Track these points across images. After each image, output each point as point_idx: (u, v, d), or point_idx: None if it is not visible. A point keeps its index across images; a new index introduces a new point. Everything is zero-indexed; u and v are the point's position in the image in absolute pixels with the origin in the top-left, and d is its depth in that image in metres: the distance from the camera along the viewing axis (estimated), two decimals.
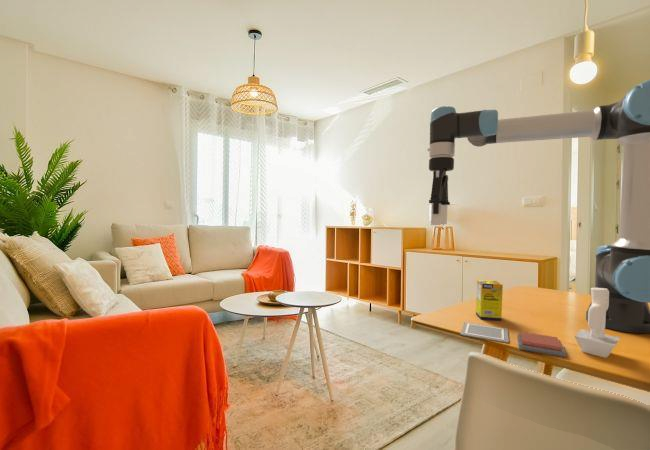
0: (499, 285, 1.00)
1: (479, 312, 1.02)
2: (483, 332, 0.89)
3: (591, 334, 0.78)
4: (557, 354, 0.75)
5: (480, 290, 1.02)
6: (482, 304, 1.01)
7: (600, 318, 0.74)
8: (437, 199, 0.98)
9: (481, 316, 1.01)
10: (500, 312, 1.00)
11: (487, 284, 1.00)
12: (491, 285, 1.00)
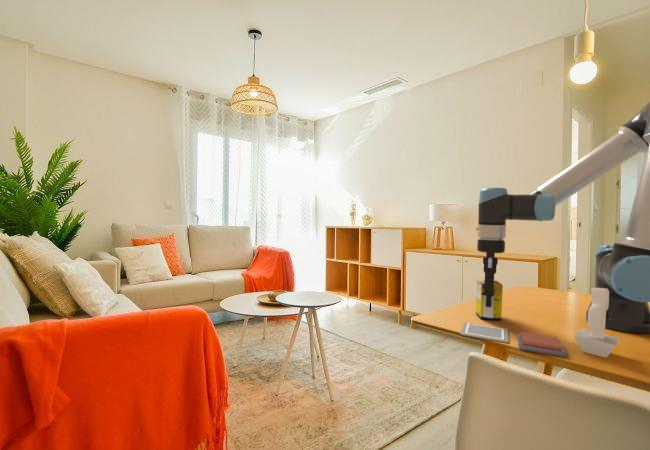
0: (499, 285, 1.00)
1: (479, 312, 1.02)
2: (483, 332, 0.89)
3: (591, 334, 0.78)
4: (557, 354, 0.75)
5: (480, 290, 1.02)
6: (482, 304, 1.01)
7: (600, 318, 0.74)
8: (491, 294, 0.96)
9: (481, 316, 1.01)
10: (500, 312, 1.00)
11: None
12: None
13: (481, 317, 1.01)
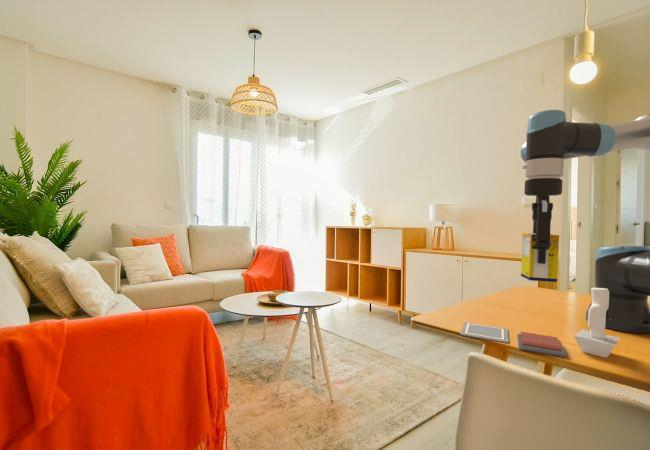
0: (554, 236, 0.77)
1: (527, 272, 0.80)
2: (483, 332, 0.89)
3: (591, 334, 0.78)
4: (557, 354, 0.75)
5: (528, 244, 0.79)
6: (532, 261, 0.78)
7: (600, 318, 0.74)
8: (547, 246, 0.74)
9: (530, 277, 0.79)
10: (556, 271, 0.77)
11: None
12: None
13: (530, 278, 0.79)
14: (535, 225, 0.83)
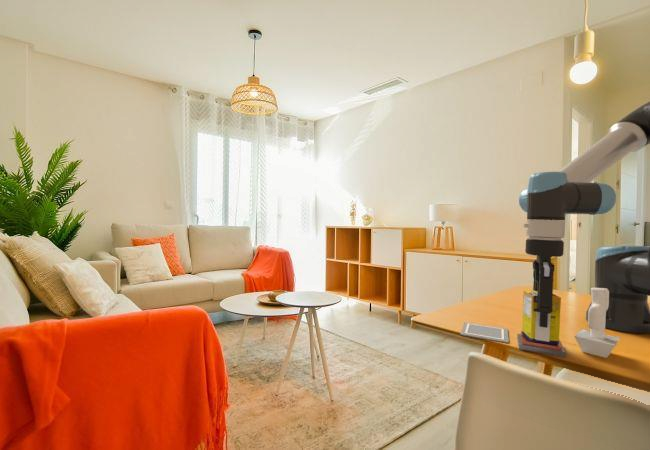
0: (556, 298, 0.77)
1: (529, 332, 0.79)
2: (483, 332, 0.89)
3: (591, 334, 0.78)
4: (557, 354, 0.75)
5: (530, 304, 0.79)
6: (533, 322, 0.78)
7: (600, 318, 0.74)
8: (549, 311, 0.73)
9: (532, 338, 0.78)
10: (558, 334, 0.77)
11: None
12: None
13: (532, 339, 0.78)
14: (536, 283, 0.82)
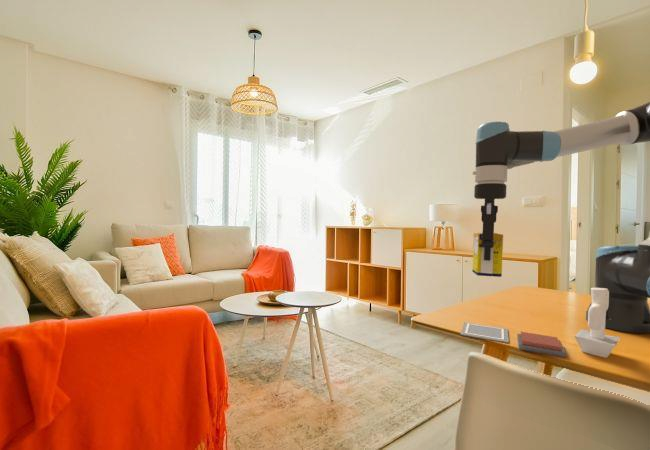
0: (499, 235, 0.85)
1: (476, 268, 0.88)
2: (483, 332, 0.89)
3: (591, 334, 0.78)
4: (557, 354, 0.75)
5: (477, 242, 0.88)
6: (479, 258, 0.87)
7: (600, 318, 0.74)
8: (490, 244, 0.82)
9: (478, 272, 0.87)
10: (501, 267, 0.86)
11: None
12: None
13: (478, 273, 0.87)
14: None
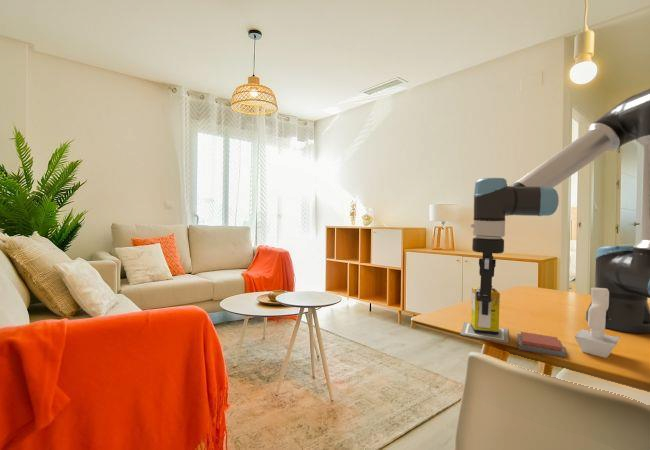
0: (496, 294, 0.87)
1: (473, 324, 0.89)
2: None
3: (591, 334, 0.78)
4: (557, 354, 0.75)
5: (474, 299, 0.89)
6: (476, 315, 0.88)
7: (600, 318, 0.74)
8: (488, 300, 0.81)
9: (475, 329, 0.88)
10: (498, 325, 0.87)
11: None
12: None
13: (475, 330, 0.88)
14: None
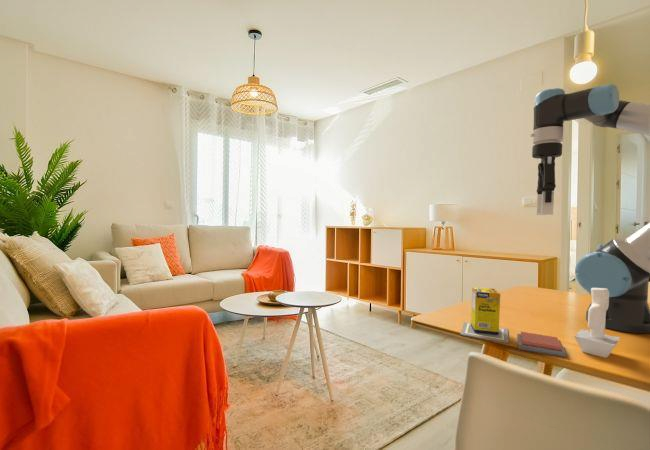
0: (496, 294, 0.87)
1: (473, 324, 0.89)
2: None
3: (591, 334, 0.78)
4: (557, 354, 0.75)
5: (474, 299, 0.89)
6: (476, 315, 0.88)
7: (600, 318, 0.74)
8: (552, 186, 0.92)
9: (475, 329, 0.88)
10: (498, 325, 0.87)
11: (482, 293, 0.87)
12: (487, 294, 0.87)
13: (475, 330, 0.88)
14: (540, 180, 1.05)
